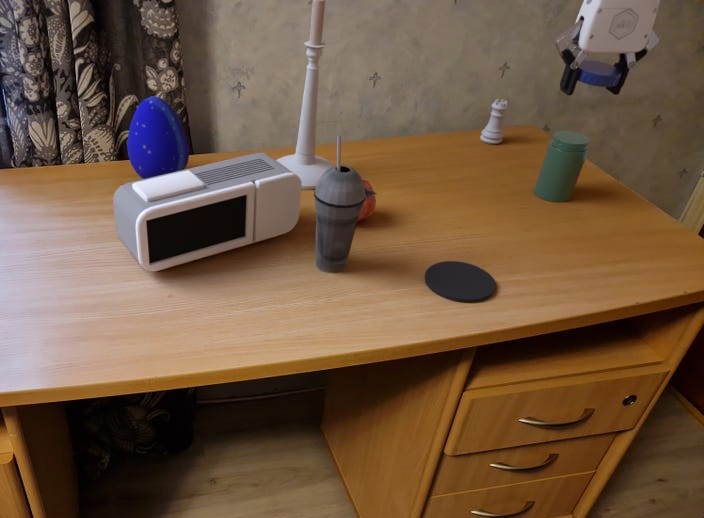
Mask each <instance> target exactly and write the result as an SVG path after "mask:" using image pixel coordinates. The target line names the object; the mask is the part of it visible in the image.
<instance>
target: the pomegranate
mask: <svg viewBox="0 0 704 518" xmlns="http://www.w3.org/2000/svg"><path fill="white" fill-rule="evenodd" d="M363 182H364V186H365V198H366V199H365V201H364V203H363V206H362V209H361V211H360V213H359V217H358V221H357V222H360V221H362V220H365V219H367V218H369V217H370V216H371V215H372V214H373V212H374V211H375V210H376V207H377V198H376V195H378V193H377V192H376V191H374V189H373V186H372V185H371V183H370V182H369V180H367V179H363Z"/></svg>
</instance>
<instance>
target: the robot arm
mask: <svg viewBox="0 0 704 518" xmlns="http://www.w3.org/2000/svg"><path fill="white" fill-rule="evenodd" d="M660 4H661V0H583V2H582V4H581V7H580V9H579V12H578V14H577V17H576V19H575V23H574V24H572V25H571V26H570V27H568V28H567V29H565V30H564V31H563V32H562V33H561V34H559V35H558V36H556V37H555V38H554V40H553V43H554V45H555V48H556V50H557V51H558V55H559V56H560V58H561V59H562V61H563V64H564V65H565V66H564V68H563V69H564V70H563V71H562V75H561V77H560V78H561V79H560V81H559V90H560V91H561V92H562V93H564V94H565V95H566V96H572V95H573V94H574V92H575V89H576V86H577V83H578V77H579V74H580V69H578V66H579V65H580V64H581V63H582V61H583V60H585V59H586V58H587V56H588V55H589V54H594V55H595V54H596V55H597V54H598V55H599V54H602V55H605V54H617V56H618V57H617V58H618V61H617V62H615V63H614V64H612V65H613V66H615V67H617V68H619V69H620V70H621V71H622V74H621V77H620V80H619V82H618V84H617V85H615V86H612V87H605V90H607V91H608V92H610V93H611V94H612V95H615V96H616V95H620V93H621V90H622V88H623V87H624V86H625V82H626V80H627V77H628V75H629V72H630V69H634V68H635V66H636V64H637V63H638V62H639V61H640V60H642V59H643V58H644V57H646V55H647V54H648V53H649V52H650V51H651V50H652V49H654V48H655V47H656V46H657V45H658V44H659V43H660V39H661V38H659V36H658V35H657V33H656V31H655V30H654V29H653V27H654V24H655V21H656V19H657V18H656V17H657V14H658V11H659V7H660ZM569 42H570V44H572V45H573V46H572V48H569Z"/></svg>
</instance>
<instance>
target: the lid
mask: <svg viewBox="0 0 704 518" xmlns="http://www.w3.org/2000/svg"><path fill="white" fill-rule="evenodd" d="M613 65H614V64H610V63H608V62H602V61H599V60H598V61H597V60H592V59H591V60H590V59H586V60H585V59H584V60H583V61H582V63H581V64H580V65H579V66H578V69H580V74H579V77H578V80H577V82H580V83H583V84H585V85H589V86H593V87H598V88H599V87H600V88H606V87H612V86H615V85H617V84H618V82H619V80H620V77H621V74H622V71H621V70H620V69H619V68H617V67H615V66H613Z"/></svg>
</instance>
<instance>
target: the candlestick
mask: <svg viewBox="0 0 704 518" xmlns="http://www.w3.org/2000/svg"><path fill="white" fill-rule="evenodd" d="M311 5H312V6H311V18H310V27H309V29H310V30H309V40H308V41H304V42H303V44H304V46H305V47H306V52H305V54H306V56H307V57H308V64H307V65H306V73H305V74H306V75H305V79H304V80H305V81H304V88H303V96H302V103H301V111H300V118H299V124H298V132H297V134H298V135H297V139H296V140H297V141H296V147H295V153H294V154H288V155H284V156H282V157H280V158H278V159H275V160H276V161H277V162H279V163H280V164H282V165H283V166H284V167H286V168H287V169H289V170H290V171H292V172H293V173H294V174H296V175H297V176H299V178H300V179H301V184H302V188H301V190H307V191H308V190H309V191H311V190H315V189H316V185H317V183H318V181H319V179H320V178H321V176H322V175H323V174H324V173H325V172H326V171H327V170H329V169H330V168H332V167H335V166H336V165H334V164H333V162H331V161H330V160H328V159H326V158H325V157H322V156H319V155H316V139H317V138H316V136H317V135H316V134H317V116H318V115H317V114H318V95H319V74H320V66H319V61H320V58H321V57H322V56H323V49H324V47H326V46H327V42H324V41H322V40H323V31H324V19H325V10H326V9H325V8H326V0H312V4H311Z"/></svg>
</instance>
